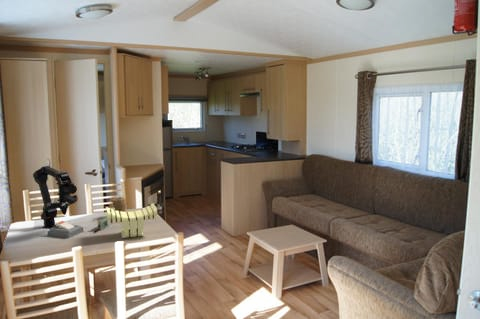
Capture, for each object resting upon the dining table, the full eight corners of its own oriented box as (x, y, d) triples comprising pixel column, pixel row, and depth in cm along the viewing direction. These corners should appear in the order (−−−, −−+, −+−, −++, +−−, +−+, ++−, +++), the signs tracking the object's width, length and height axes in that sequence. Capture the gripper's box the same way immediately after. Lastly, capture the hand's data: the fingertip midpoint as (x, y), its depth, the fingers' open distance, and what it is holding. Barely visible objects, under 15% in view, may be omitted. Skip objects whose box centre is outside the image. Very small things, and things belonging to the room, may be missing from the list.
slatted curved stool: (108, 241, 247) (107, 213, 245) (107, 233, 262) (106, 206, 259) (157, 235, 257) (156, 208, 255) (154, 228, 272) (153, 202, 270)
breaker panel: (47, 235, 257) (47, 229, 256) (63, 229, 270) (62, 222, 270) (68, 238, 253) (68, 231, 252) (83, 231, 266) (82, 224, 265)
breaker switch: (55, 224, 259) (56, 223, 259) (62, 222, 265) (62, 220, 265) (68, 230, 257) (68, 228, 257) (74, 228, 263) (75, 226, 262)
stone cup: (111, 216, 302) (110, 196, 300) (127, 214, 308) (127, 194, 306) (115, 221, 289) (114, 200, 287) (132, 219, 294) (131, 199, 292)
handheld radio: (116, 222, 287) (97, 233, 262) (111, 222, 287) (93, 233, 263) (115, 213, 286) (96, 223, 261) (111, 213, 286) (92, 223, 262)
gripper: (63, 196, 251) (64, 220, 254) (83, 189, 269) (84, 212, 271) (48, 194, 254) (50, 218, 257) (69, 188, 272) (70, 210, 275)
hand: (64, 214), depth 265 cm, fingers closed
